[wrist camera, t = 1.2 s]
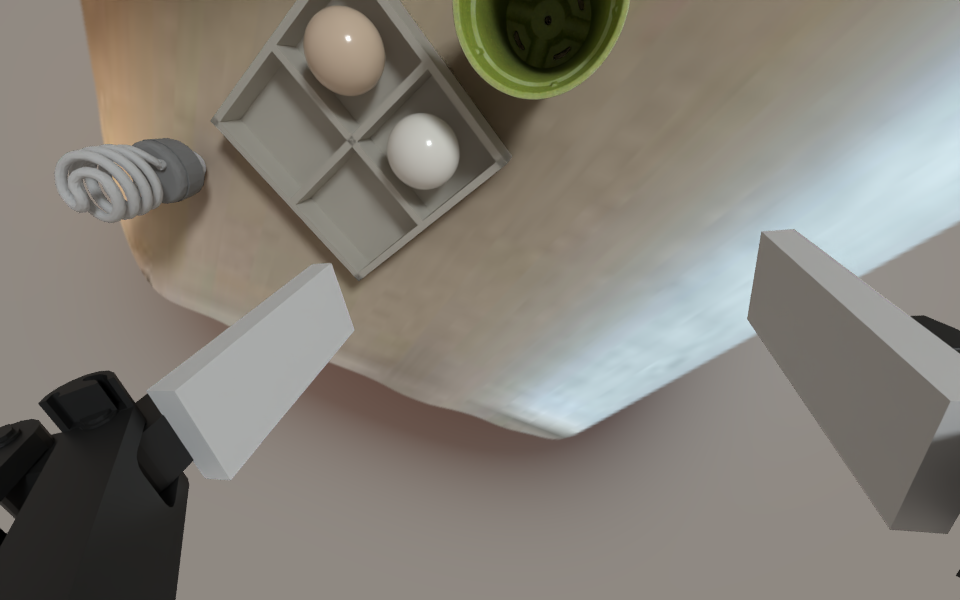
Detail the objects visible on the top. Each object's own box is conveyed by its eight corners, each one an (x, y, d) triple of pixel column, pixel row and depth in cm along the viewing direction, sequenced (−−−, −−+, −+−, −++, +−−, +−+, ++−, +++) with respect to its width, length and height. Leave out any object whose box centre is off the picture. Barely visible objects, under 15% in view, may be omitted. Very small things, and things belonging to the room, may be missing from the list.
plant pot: (458, -3, 30) (419, -28, 23) (579, -105, 26) (580, -175, 19) (522, 118, 33) (506, 131, 26) (639, 42, 29) (661, 31, 22)
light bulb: (210, 202, 42) (92, 244, 32) (164, 157, 41) (26, 186, 31) (238, 167, 40) (119, 200, 30) (190, 117, 39) (49, 134, 28)
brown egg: (315, 48, 33) (270, 44, 28) (360, -9, 31) (320, -24, 26) (364, 109, 34) (330, 115, 30) (411, 60, 32) (382, 57, 27)
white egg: (389, 140, 35) (359, 151, 30) (436, 94, 33) (412, 97, 28) (432, 194, 37) (410, 212, 32) (480, 153, 34) (465, 166, 29)
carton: (236, 117, 38) (210, 120, 35) (362, -51, 30) (341, -63, 27) (372, 268, 42) (358, 281, 40) (512, 156, 34) (507, 163, 32)
